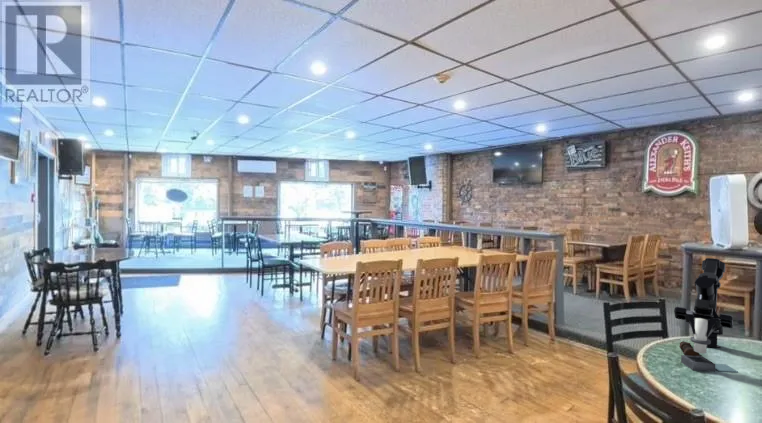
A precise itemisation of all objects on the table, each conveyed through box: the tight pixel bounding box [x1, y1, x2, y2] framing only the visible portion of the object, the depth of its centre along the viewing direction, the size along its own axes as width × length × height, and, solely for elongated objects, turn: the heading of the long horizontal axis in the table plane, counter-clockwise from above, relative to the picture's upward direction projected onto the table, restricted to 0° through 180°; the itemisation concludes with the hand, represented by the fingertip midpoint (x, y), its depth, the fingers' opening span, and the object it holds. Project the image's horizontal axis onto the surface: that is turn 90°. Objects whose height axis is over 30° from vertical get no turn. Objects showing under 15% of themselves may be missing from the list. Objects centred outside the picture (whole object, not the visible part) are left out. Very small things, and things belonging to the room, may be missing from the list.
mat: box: [714, 363, 739, 373], centre depth 166 cm, size 7×7×1 cm
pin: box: [690, 318, 711, 354], centre depth 167 cm, size 6×6×13 cm
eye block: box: [680, 354, 716, 373], centre depth 167 cm, size 8×8×3 cm
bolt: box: [679, 340, 701, 356], centre depth 180 cm, size 6×5×15 cm
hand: (700, 335), depth 166 cm, fingers closed on pin, 4 cm apart
